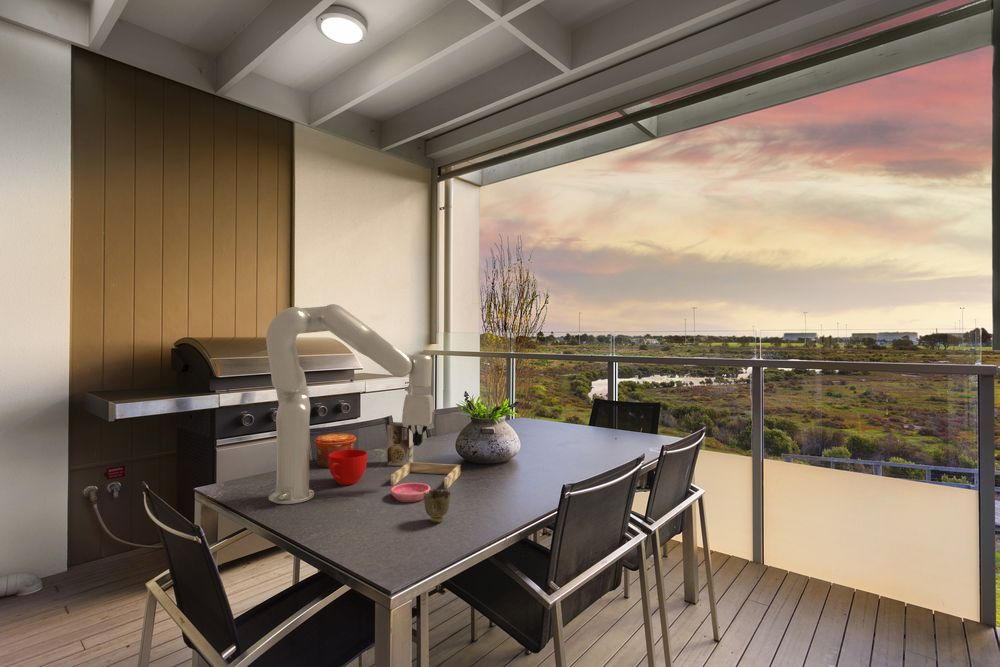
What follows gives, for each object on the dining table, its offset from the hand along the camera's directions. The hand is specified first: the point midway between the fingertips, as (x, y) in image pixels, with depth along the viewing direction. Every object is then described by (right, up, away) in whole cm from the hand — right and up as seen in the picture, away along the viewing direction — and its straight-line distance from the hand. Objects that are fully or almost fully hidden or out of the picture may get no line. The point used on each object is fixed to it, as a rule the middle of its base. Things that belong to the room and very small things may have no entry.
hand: (417, 444), depth 173 cm
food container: (-37, -14, +29) cm, 49 cm away
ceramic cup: (-25, -14, +3) cm, 29 cm away
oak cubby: (+2, -14, +8) cm, 17 cm away
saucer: (0, -15, -10) cm, 18 cm away
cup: (+10, -15, -31) cm, 36 cm away
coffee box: (-12, -14, +30) cm, 35 cm away
